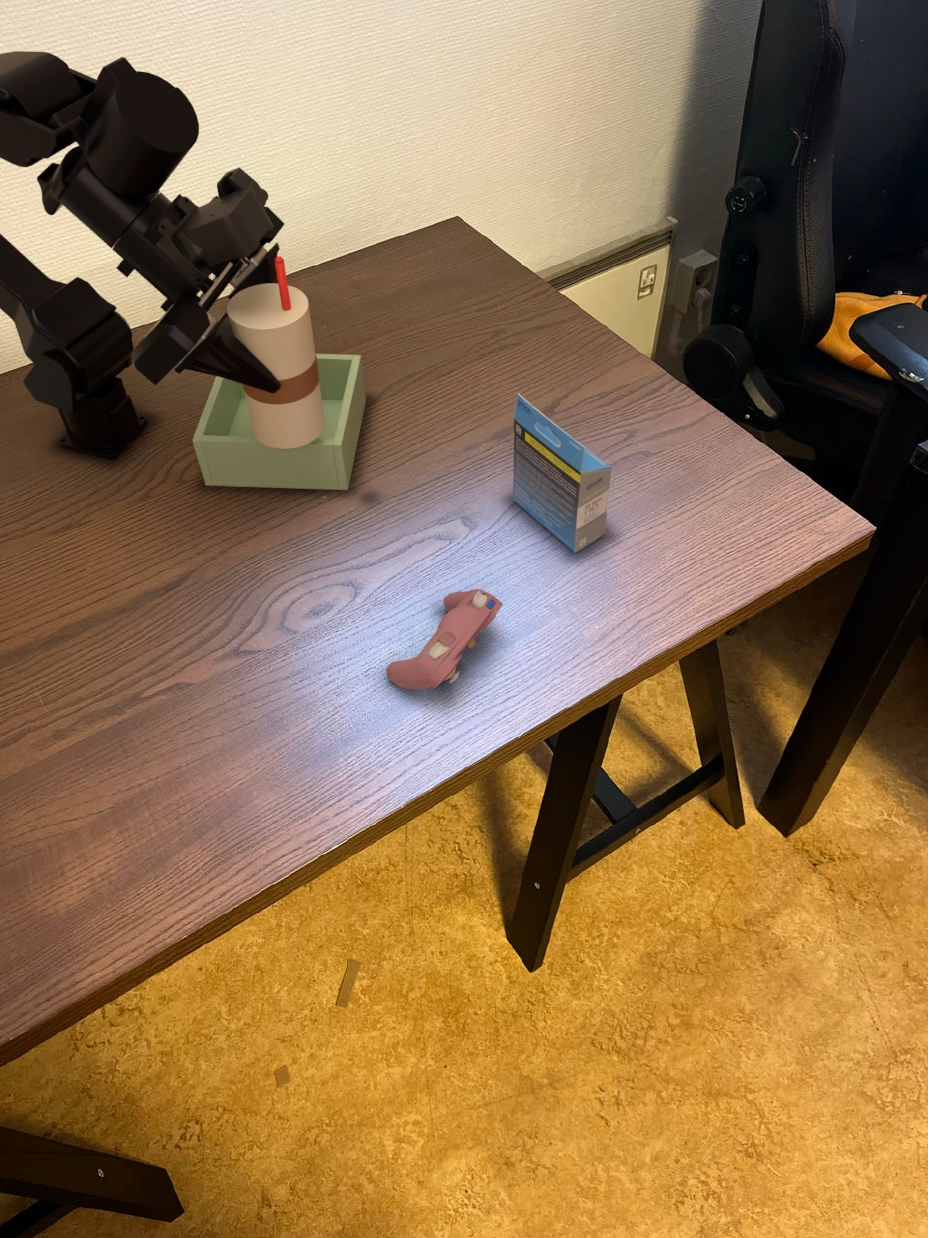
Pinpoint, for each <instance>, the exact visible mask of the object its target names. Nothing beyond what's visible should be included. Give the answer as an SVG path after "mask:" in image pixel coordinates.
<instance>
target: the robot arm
mask: <svg viewBox="0 0 928 1238" xmlns="http://www.w3.org/2000/svg"><path fill="white" fill-rule="evenodd" d="M199 135H200V123H199V119H198V115H197V112H196V110H195V108H194V106H193V104H192V103H191V101H190V99H189V98H188V97H187V95H186V94H185V93H184V92H183V91H182V89H181V88H180V87H176V86H174V85H173V84H172V83H170V82H169V81H167V80H166V79H164V78H162V77H161V76H159V75H157V74H154V73H151V72H148V71H141V70H136V69H135V68H134V66H133V65H132V64H131V63H130V62H129V60H128V59H127V58H126V57H125V56H121V57H119V58H116V59H115V60H113V61H112V62H110V63H108V64H106V65H104V66H102V68H101V70H100V72H99V74H98V75H97V77H96V78H94V77H91V76H89V75H87V74H84V73H82V72H80V71H78V70H75V69H73V68H71V67H69V64H68V63H66V61H64V60H63V59H61V58H60V57H59V56H57V55H55V54H53V53H52V52H48V51H47V52H46V51H27V50H26V51H25V50H23V51H22V50H21V51H19V50H17V51H16V50H15V51H9V52H4V53H0V159H2V160H4V161H6V162H8V163H10V164H12V165H14V166H16V167H18V168H19V167H20V168H29V167H33V165H34V166H35V164H37V163H39V162H41V161H42V160H44V159H46V160H47V159H50V158H51V157H53V156H55V155H56V154H58V153H60V152H61V151H63V150H65V149H66V148H68V147H71V146H72V145H73V144H75V143H76V144H77V146H74V147H73V148H71V149H70V150H68V151H67V152H66V153H65V154H64V156H63V159H62V160H61V161H60V162H59V163H57V162H51V163H50V164H49V165H48V166H47V167H45V169H44V170H43V171H42V172H41V173H39V175H38V176H36V181H37V183H38V185H39V187H40V191H41V202H42V205H43V209H44V211H45V213H46V214H47V215H49V216H54V215H55V214H56V213H57V212H58V211H59V210H60V209H61V208H62V207H64V208H65V209H66V210H67V211H68V212H69V213H71V214H72V215H73V216H74V217H75V218H76V219H77V220H78V221H80V222H81V223H82V224H83V225H84V226H85V227H86V228H88V229H89V230H90V231H91V232H92V233H93V234H94V235H95V236H96V237H98V238H99V239H100V240H101V241H102V242H103V243H104V244H106V245H107V246H108V247H109V248H110V249H112V251H113V252H114V253H115V254H117V255H118V256H119V257H120V258H121V259H122V260H121V261H120V263H119V264H118V265H117V266H116V270H117V271H118V272H120V273H121V274H122V275H123V276H125V277H126V278H128V277H129V276H130V275H131V274H132V273H133V272H134V271H136V272H137V274H139V275H140V276H141V277H143V279H144V280H146V281H147V282H148V283H149V284H150V285H151V286H153V287H154V289H156V290H157V291H158V292H159V293H160V294H161V295H162V296H163V297H165V298H166V299H165V300H164V302H163V303H161V305H160V306H159V307H160V309H161V310H162V311H164V313H163V315H162V316H160V318H159V319H158V320H157V321H156V322H155V323H154V324H153V325H152V326H151V327H150V329H149V330H148V331H147V333H146V334H145V335H144V336H143V337H142V338H141V340H140V341H139V343H138V344H137V345H136V346H135V347H134V342H133V332H132V329H131V327H130V324H129V323H128V321H127V320H126V318H125V317H123V316H122V314H120V313H119V312H118V311H116V310H117V309H118V308H117V306H116V305H114V304H112V303H111V302H109V301H108V300H107V299H105V298H104V297H103V296H101V295H100V294H99V292H98V291H96V289H95V288H94V287H93V285H91V284H90V282H88V281H87V280H85V279H83V278H81V277H79V276H76V277H74V278H72V280H70V281H69V282H67V283H65V282H62V281H58V280H55V279H52V278H50V277H49V276H48V275H47V274H45V272H43V271H42V270H41V269H40V267H38V266H36V264H35V263H33V261H31V260H30V259H29V258H28V257H27V256H26V255H24V253H22V251H20V249H18V248H17V247H16V246H14V245H13V244H12V243H11V241H10V240H8V239H7V238H6V237H5V236H4V235H2V233H0V310H1V311H2V312H3V313H4V314H6V315H7V316H8V317H9V318H10V319H11V320H12V322H13V323H14V325H15V329H16V332H17V335H18V338H19V340H20V344H21V346H22V349H23V353H24V354H25V356H26V357H27V358H28V360H29V361H31V362H32V364H33V366H32V367H31V368H30V370H29V372H28V373H27V374H26V376H25V377H24V378H23V380H22V383H23V384H24V386H25V388H26V389H27V390H28V392H29V393H30V395H31V396H32V397H33V399H34V400H35V401H36V402H38V403H41V404H44V405H47V406H49V407H52V408H55V409H57V411H58V414H59V416H60V419H61V421H62V423H63V425H64V428H65V430H66V431H65V433H64V434H63V435H62V436H61V437H60V438H59V439H58V440H57V443H58V445H59V447H61V448H64V449H68V450H72V451H76V452H79V453H84V454H86V455H87V454H88V455H92V456H96V457H98V458H99V457H100V458H104V459H108V460H114V459H116V458H118V456H120V455H121V453H122V452H123V451H124V450H125V448H126V447H128V445H129V444H130V443H131V442H132V441H133V440H134V439H135V437H136V436H137V435H138V434H139V433H140V432H141V430H142V429H144V427H145V426H146V425H147V424H148V422H149V420H148V416H146V415H145V414H140V413H137V412H136V409H135V406H134V403H133V401H132V398H131V395H130V394H127V391H126V388H125V385H124V381H123V379H122V378H121V377H117V376H118V375H119V374H121V373H122V372H124V370H126V369H129V368H130V367H131V366H133V365H134V368H135V369H136V371H138V372H139V373H140V374H141V375H142V376H143V377H145V378H146V379H147V380H148V381H149V382H151V383H152V385H154V386H157V385H158V384H159V383H160V382H161V381H162V380H163V379H164V378H165V377H166V376H167V375H168V374H169V373H170V372H171V371H172V370H173V371H174V372H176V373H177V374H181V373H183V371H185V370H187V371H191V372H196V373H200V374H205V375H210V376H214V377H216V376H218V377H222V378H225V379H228V380H232V381H235V382H238V383H241V384H244V385H248V386H251V387H254V388H257V389H260V390H263V391H266V392H270V393H275V392H277V391H278V390H279V389H280V388H281V383H280V382H279V381H278V380H277V379H276V377H275V376H274V375H273V374H272V373H271V372H270V371H269V370H268V369H267V368H266V367H265V366H264V365H263V364H262V363H261V362H260V361H259V360H258V359H257V358H256V357H255V356H254V355H253V354H252V353H251V352H250V351H249V350H248V349H247V348H246V347H245V346H244V345H243V344H242V343H241V342H240V341H239V340H238V339H237V338H236V337H235V335H234V333H233V329H232V326H231V322H230V318H229V315H228V313H227V311H226V312H225V313H224V314H223V315H222V316H221V317H220V318H218V319H216V318H215V317H214V315H212V314H211V313H210V312H209V311H210V310H211V308H212V307H213V305H214V304H215V303H216V301H217V300H218V299H219V297H220V296H221V295H222V294H223V292H224V291H225V289H226V288H227V286H229V284H230V286H231V287H233V289H232V290H231V292H230V293H228V296H227V298H228V299H229V300H230V299H231V298H232V297H233V296H234V295H235V294H237V293H238V292H240V291H242V290H244V289H246V288H248V287H251V286H255V285H260V284H267V283H278V279H277V273H276V267H275V258H276V257H278V253H279V251H280V250H281V249H280V248H281V247H280V244H279V242H276V243H274V245H272V247H271V248H269V250H267V249H266V247H265V246H266V245H267V244H271V243H272V241H273V240H274V239H275V238H276V237H277V236H278V234H279V233H280V231H281V230H282V228H283V227H284V226H285V223H284V221H283V220H282V219H281V218H279V216H278V215H276V213H275V212H274V211H273V210H272V209H271V208H270V207H269V206H266V204H267V201H268V200H269V193H268V192H267V190H265V189H264V188H261V186H260V183H259V182H258V181H256V180H255V179H254V178H253V177H252V176H251V175H249V174H248V173H247V172H246V171H245V170H243V169H242V168H241V167H237V168H235V169H232V170H229V171H227V172H225V174H224V175H222V177H221V178H220V179H219V180H218V182H217V183H216V189H217V195H215V196H214V197H212V199H211V200H210V201H209V202H207V203H205V204H203V205H201V206H198V205H196V204H195V203H194V202H193V200H191V199H190V198H189V197H187V196H184V195H182V194H181V193H179V194H178V195H177V196H176V197H175V198H174V199H173V200H172V201H171V200H170V199H169V198H168V197H167V196H166V195H165V194H164V193H163V192H162V191H161V188H163V186H164V185H165V183H166V182H167V181H168V180H169V178H170V177H171V175H172V174H173V173H174V171H175V170H176V169H177V167H178V166H179V165H180V164H181V162H183V160H184V159H185V157H186V156H187V155H188V153H189V152H190V151H191V149H192V148H193V147H194V145H195V144H196V143H197V141H198V138H199ZM212 275H213V278H210V276H212ZM200 292H201V293H200ZM199 293H200V295H198V294H199Z"/></svg>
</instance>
